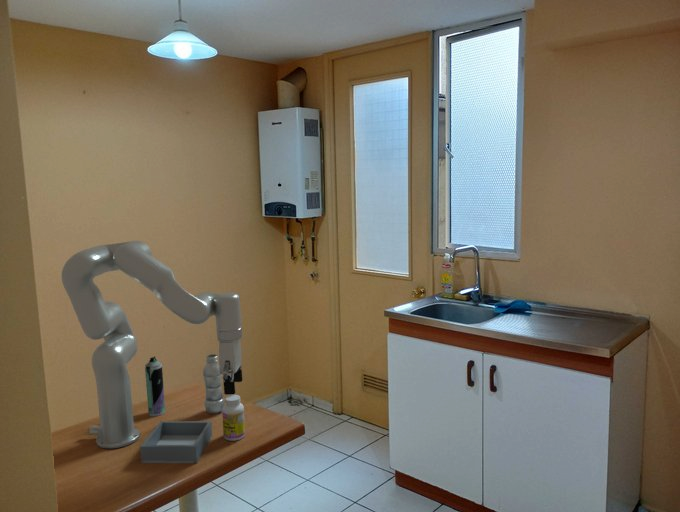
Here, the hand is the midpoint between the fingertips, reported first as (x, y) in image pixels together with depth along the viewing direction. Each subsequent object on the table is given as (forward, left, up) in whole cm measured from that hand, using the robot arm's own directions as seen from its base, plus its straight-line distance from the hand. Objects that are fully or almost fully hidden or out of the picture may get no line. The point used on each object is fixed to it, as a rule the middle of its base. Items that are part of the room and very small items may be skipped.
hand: (233, 387), depth 170 cm
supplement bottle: (-1, 0, -16) cm, 16 cm away
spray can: (-32, +17, -16) cm, 39 cm away
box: (-16, -8, -16) cm, 24 cm away
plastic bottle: (-12, +18, -16) cm, 27 cm away
